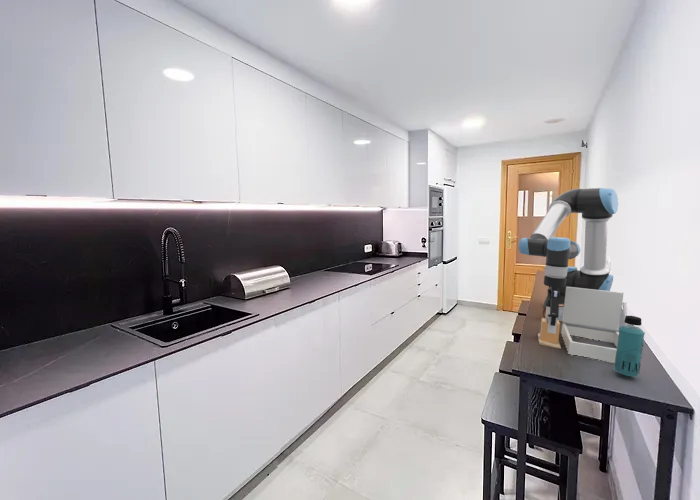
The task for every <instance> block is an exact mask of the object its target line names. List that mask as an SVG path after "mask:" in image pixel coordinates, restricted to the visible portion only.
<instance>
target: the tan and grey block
mask: <svg viewBox="0 0 700 500" xmlns="http://www.w3.org/2000/svg"><path fill="white" fill-rule="evenodd" d="M548 322H549V318H547V317H546V319H545V318H544V317H541V323H540V332H539V333H540V340H541V341H546V342H552V343H558V340H559V339H560V338H559V336H560V329H561V323H560V322H559V320H557V327H556V334H554V333H548Z"/></svg>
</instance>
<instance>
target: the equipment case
mask: <svg viewBox="0 0 700 500" xmlns="http://www.w3.org/2000/svg"><path fill="white" fill-rule="evenodd" d="M623 298H624V292H621V291H611V290H610V291H603V290H594V289H585V288H575V287H566V294H565V303H564V312H563V321H562V322H561V333H560V335H561V334H562V335H561V337H563V338H562V340H564V341H563V343H564V342H565V343H564V346H565V345H566V346H565V349H566V348H567V349H566V352H567V351H568V352H567V354H571V355H570V356H573V355H578V356H584V357H590V358H594V359H599V360H598V361H600V360H602V361H601V362H605V361H606V362H607V363H610V364H611V363H612V364H615V358H616V356H615V355H616V351H617V344H618V336H619V328H620V323H621V316H622V319H623V320H622V321H623V326H624V325H629V324H627V323H625V322H624V320H625V317H626V316H628V309H627V308H628V307H627V306H628V305H627V302H623V301H624V299H623ZM570 335H575V336H580V337H585V338H589V339H588V340H592V339H594V340H593V341H598V340H600V341H599V342H603V343H604V342H605V343H610V344H613V345H615V347H616V348H614V347H609V346H600V345H596V344H589V343H583V342H580V341H579V342H578V341H573V338H572V336H570ZM585 338H584V339H585ZM578 356H577V357H578ZM594 359H593V360H594Z"/></svg>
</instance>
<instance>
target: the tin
mask: <svg viewBox="0 0 700 500" xmlns="http://www.w3.org/2000/svg"><path fill="white" fill-rule="evenodd" d="M546 307H548V306H546ZM546 307H544V308H543V309H542V318H545V315H546ZM563 312H564V304H559V312H558V315H559V317H558V318H557V320H559V321H563ZM553 314H555V313H553Z"/></svg>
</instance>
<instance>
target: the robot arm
mask: <svg viewBox="0 0 700 500" xmlns="http://www.w3.org/2000/svg"><path fill="white" fill-rule="evenodd" d="M618 207H619V198H618V194H617V191H616V190H615V189H613V188H612V187H611V188H606V187H595V188H594V187H593V188H592V187H591V188H590V187H589V188H575V189H574V188H573V189H569V190H567V191H564V192H563V193H561V194H560V195H558V196H557V197H555V198H554V199H553V200H552V201H551V203H550V204H549V206H548V211H547V212H546V214H545V215H544V216H543V218H542V220H540V222H539V224H538V225H537V227H536V228H535V229H534V231H533V232H532V234H531V235H530V236H529V237H523V238H521V239H520V240H519V242H518V251H519V253H520V254H522V255H527V256H533V257H541V258H542V257H543V258H546V259H545V266H544V267H543V270H544V277H543V285H544V286H547V287H548V289H547V295H546V297H545V299H544V301H543V307H544V308H545V307H546V306H548V307H546V315H545V319H546V317H547V318H549V322H548V333H554V334H556V327H557V318H558V317H559V315H558V312H559V304H564V303H565V294H566V287H575V288H585V289H594V290H603V291H611V289H612V285H613V282H614V275H613V274H610V270H609V269H608V268H607V267H606V264H607V263H606V259H607V247H608V245H607V242H608V229H609V228H608V227H609V226H608V224H609V220H610V219H612V217H613V215H614V214H616V213H617V212H618ZM570 214H581V218H582V219H583V220H584V221H585V223H584V224H585V226H584V228H585V230H584V249H583V250H584V253H583V254H584V256H583V266H582V267H580V268H579V270H578V267H577V266H573V265H572V266H569V260H572V259H574V258H576V257H578V256H579V254H580V253H581V247H580V244H578V242H576V241H573V240H571V239H570V238H568V237H562V236H561V237H559V236H558V237H556V236H555V237H553V236H554V234H555V233H556V231H557V230H558V228H559V227H560V226H561V224H562V222H563V221H564V220H565V218H566V217H568V216H570ZM553 313H555V314H553Z"/></svg>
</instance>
